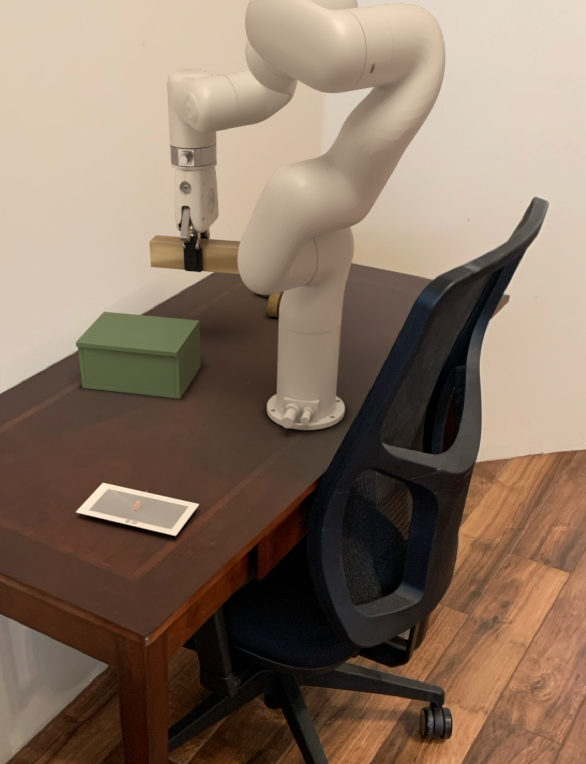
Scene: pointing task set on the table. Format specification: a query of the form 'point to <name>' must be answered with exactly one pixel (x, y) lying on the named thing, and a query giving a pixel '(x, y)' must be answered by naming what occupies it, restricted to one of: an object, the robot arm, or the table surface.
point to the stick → (214, 253)
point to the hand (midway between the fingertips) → (197, 265)
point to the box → (141, 370)
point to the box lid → (138, 334)
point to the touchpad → (138, 509)
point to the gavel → (274, 304)
